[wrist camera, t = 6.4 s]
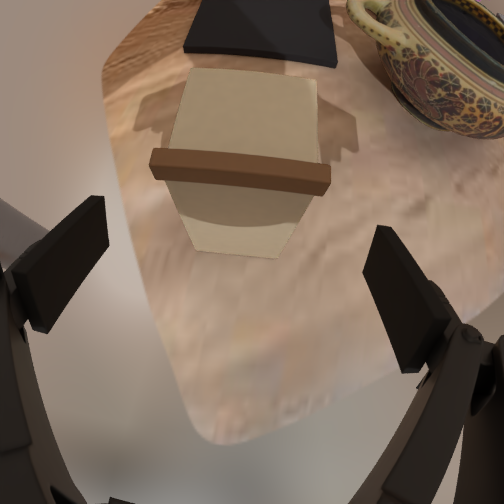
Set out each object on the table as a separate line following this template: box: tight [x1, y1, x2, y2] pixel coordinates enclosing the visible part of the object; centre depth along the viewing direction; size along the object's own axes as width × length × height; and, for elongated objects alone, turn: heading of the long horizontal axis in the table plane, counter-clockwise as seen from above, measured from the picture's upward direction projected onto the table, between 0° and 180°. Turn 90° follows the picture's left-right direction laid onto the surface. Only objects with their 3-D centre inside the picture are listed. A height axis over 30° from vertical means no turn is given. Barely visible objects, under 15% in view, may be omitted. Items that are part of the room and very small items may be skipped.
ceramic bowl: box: [346, 0, 504, 139], centre depth 23 cm, size 24×18×15 cm
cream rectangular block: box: [149, 68, 331, 259], centre depth 18 cm, size 6×6×13 cm
